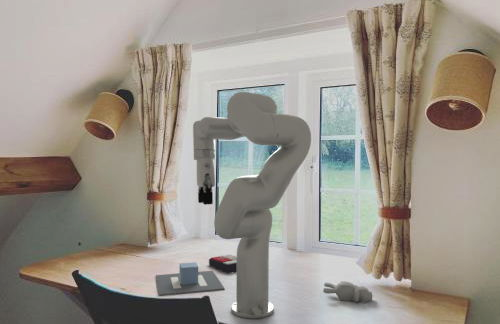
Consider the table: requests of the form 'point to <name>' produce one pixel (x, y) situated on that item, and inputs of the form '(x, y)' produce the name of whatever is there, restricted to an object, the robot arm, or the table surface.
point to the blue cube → (188, 273)
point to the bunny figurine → (349, 292)
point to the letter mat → (172, 285)
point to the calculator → (224, 263)
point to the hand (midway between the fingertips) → (205, 203)
